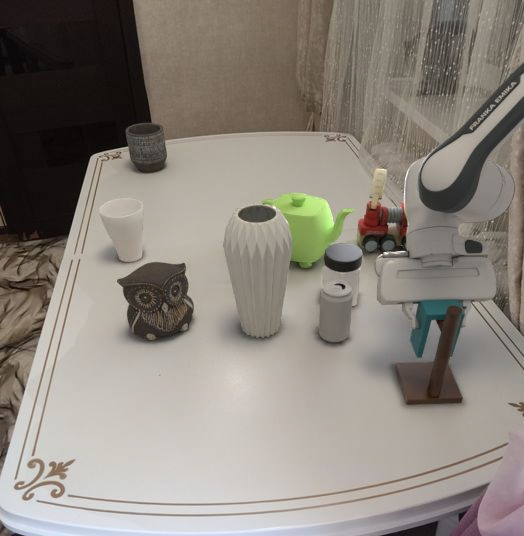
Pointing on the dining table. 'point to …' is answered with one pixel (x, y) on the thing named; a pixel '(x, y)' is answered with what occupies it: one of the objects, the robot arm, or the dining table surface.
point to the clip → (427, 313)
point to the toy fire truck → (382, 221)
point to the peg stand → (433, 368)
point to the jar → (343, 265)
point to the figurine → (157, 299)
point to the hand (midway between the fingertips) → (437, 328)
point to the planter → (147, 146)
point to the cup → (124, 226)
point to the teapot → (309, 225)
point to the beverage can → (335, 310)
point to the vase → (258, 265)
